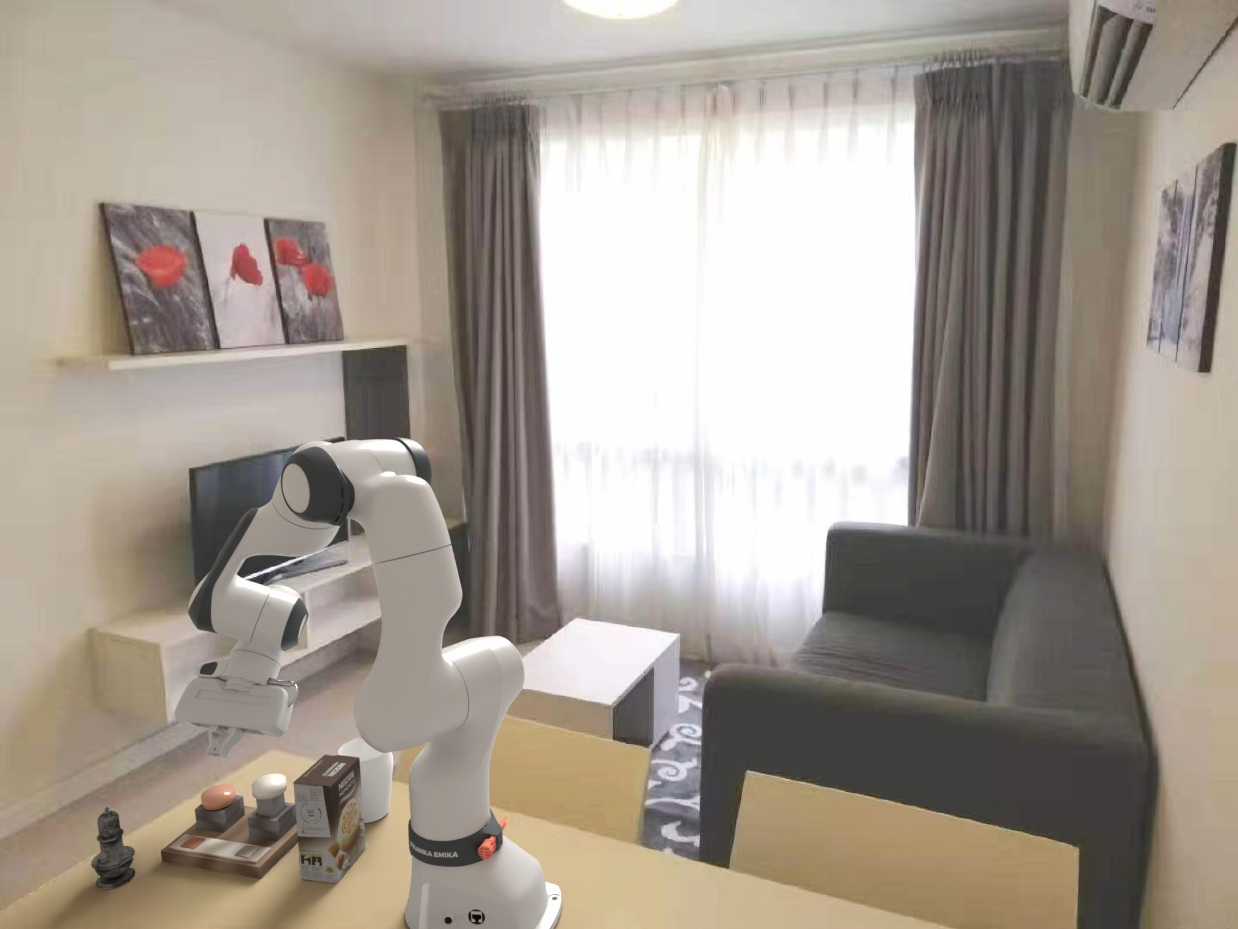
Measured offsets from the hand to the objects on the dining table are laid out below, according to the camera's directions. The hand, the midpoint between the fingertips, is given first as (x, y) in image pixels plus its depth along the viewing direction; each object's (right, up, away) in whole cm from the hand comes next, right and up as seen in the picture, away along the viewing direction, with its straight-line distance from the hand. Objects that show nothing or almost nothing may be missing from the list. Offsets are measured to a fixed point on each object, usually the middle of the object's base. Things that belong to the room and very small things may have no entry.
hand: (215, 756), depth 144 cm
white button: (+10, -8, -1) cm, 13 cm away
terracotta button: (0, -11, +2) cm, 11 cm away
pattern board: (+5, -14, -1) cm, 15 cm away
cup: (+23, -12, +7) cm, 27 cm away
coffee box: (+22, -15, -7) cm, 27 cm away
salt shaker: (-11, -16, -9) cm, 21 cm away
